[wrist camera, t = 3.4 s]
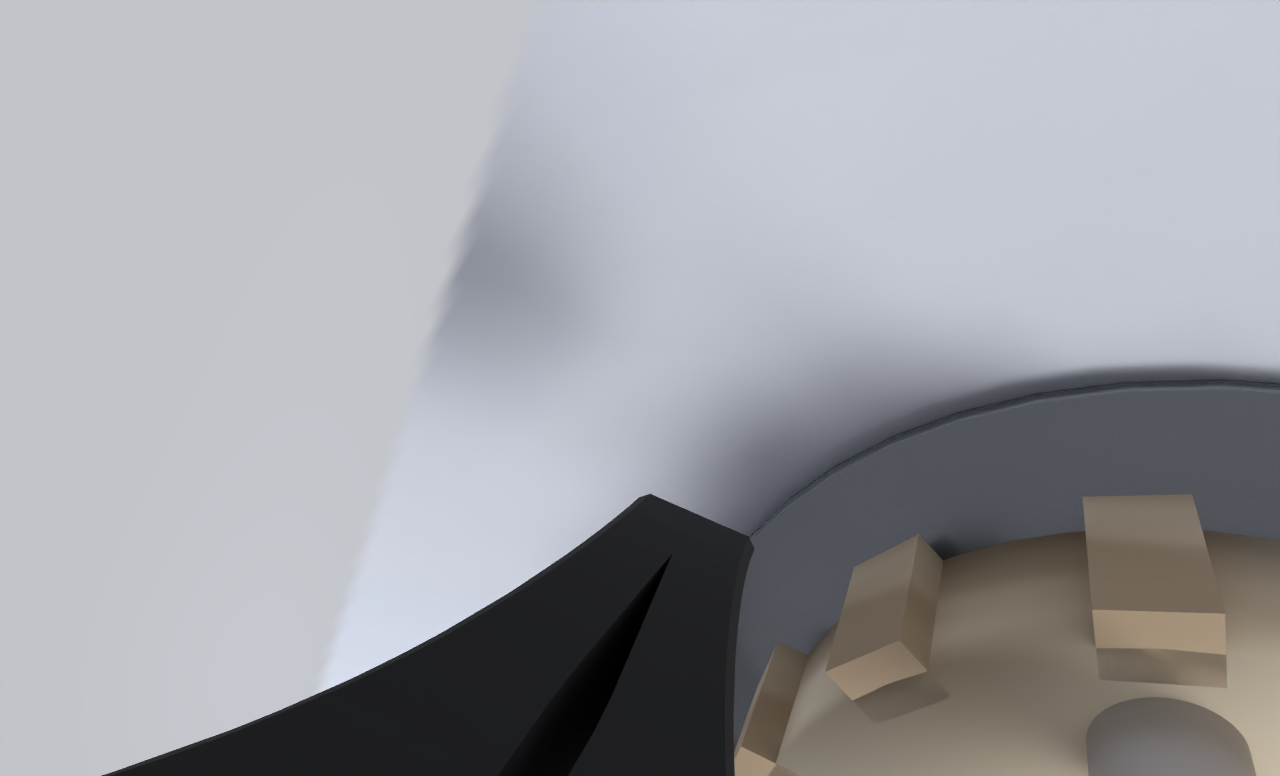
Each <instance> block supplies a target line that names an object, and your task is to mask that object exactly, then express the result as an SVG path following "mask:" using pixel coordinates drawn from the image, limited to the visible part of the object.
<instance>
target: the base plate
mask: <svg viewBox="0 0 1280 776" xmlns="http://www.w3.org/2000/svg"><path fill="white" fill-rule="evenodd" d="M1179 494H1192V495H1193V499H1194V502H1195V506H1196V510H1197V513H1198V517H1199V521H1200V524H1201V528H1202V531H1214V532H1222V533H1230V534H1237V535H1245V536H1253V537H1260V538H1268V539H1276V540H1280V384H1270V383H1256V382H1242V381H1228V380H1204V381H1165V382H1127V383H1118V384H1110V385H1102V386H1094V387H1086V388H1079V389H1071V390H1063V391H1055V392H1047V393H1040V394H1034V395H1030V396H1026V397H1022V398H1017V399H1013V400H1009V401H1005V402H1001V403H997V404H992V405H988V406H984V407H980V408H976V409H971V410H967V411H963V412H959V413H956V414H953V415H951V416H948V417H945V418H943V419H940V420H937V421H934V422H932V423H929V424H926V425H923V426H921V427H918V428H915V429H912V430H910V431H907V432H904V433H902V434H899V435H896V436H893V437H891V438H889V439H887V440H885V441H883V442H881V443H879V444H877V445H875V446H873V447H872V448H870V449H868V450H866V451H864V452H862V453H860V454H858V455H856V456H854V457H852V458H850V459H848V460H846V461H845V462H843V463H841V464H839V465H837V466H835V467H833V468H832V469H831V470H829V471H828V472H826V473H825V474H824V475H822V476H821V477H819V478H818V479H817V480H815V481H814V482H812V483H811V484H810V485H808V486H807V487H805V488H804V489H803V490H801V491H800V492H798V493H797V494H796V495H794V496H793V497H791V498H790V499H789V500H788V501H787V502H786V503H785V504H784V505H782V506H781V507H780V508H779V509H778V510H777V511H776V512H775V513H774V514H773V515H772V516H771V517H770V518H769V519H768V520H767V521H766V522H765V523H764V524H763V525H762V526H761V527H760V528H759V529H758V530H757V531H756V532H755V533H754V534H753V535H752V536H751V538H750V540H751V542H752V544H753V546H754V548H755V549H754V552H753V555H752V557H751V560H750V563H749V566H748V570H747V574H746V578H745V583H744V588H743V594H742V600H741V606H740V615H739V623H738V632H737V644H736V659H735V687H734V751H735V748H736V745H737V743H738V740H739V737H740V734H741V731H742V729H743V726H744V723H745V720H746V717H747V715H748V712H749V709H750V706H751V703H752V701H753V698H754V695H755V692H756V689H757V687H758V684H759V682H760V680H761V678H762V675H763V673H764V671H765V669H766V667H767V664H768V662H769V660H770V658H771V655H772V653H773V651H774V649H775V647H776V644H777V642H780V643H782V644H784V645H786V646H788V647H790V648H793V649H795V650H797V651H799V652H801V653H803V654H806V655H809V654H810V652H811V651H812V649H813V648H814V647H815V646H816V644H817V643H818V642H819V641H820V640H821V639H822V638H823V637H824V636H825V635H826V633H827V632H828V631H829V630H830V629H831V628H832V627H833V626H834V625H835V624H836V622H838V621H839V620H840V616H841V613H842V609H843V605H844V602H845V598H846V594H847V591H848V587H849V584H850V580H851V576H852V573H853V569H854V567H855V566H857V565H859V564H861V563H863V562H865V561H867V560H869V559H871V558H873V557H875V556H877V555H879V554H881V553H883V552H885V551H887V550H889V549H891V548H893V547H894V546H896V545H898V544H900V543H902V542H904V541H906V540H908V539H910V538H912V537H914V536H916V535H918V534H919V535H920V536H921V537H922V538H923V539H924V540H925V541H926V542H927V544H928V545H929V546H930V547H931V548H932V549H933V550H934V551H935V552H936V553H937V554H938V556H939V557H940V558H941V559H942V560H943V561H944V560H946V559H949V558H951V557H954V556H957V555H961V554H965V553H968V552H972V551H976V550H979V549H983V548H987V547H991V546H994V545H998V544H1002V543H1005V542H1009V541H1016V540H1022V539H1029V538H1035V537H1042V536H1048V535H1054V534H1061V533H1067V532H1080V531H1085V521H1084V509H1083V498H1082V497H1094V496H1137V495H1179Z"/></svg>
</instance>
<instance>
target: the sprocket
mask: <svg viewBox="0 0 1280 776" xmlns="http://www.w3.org/2000/svg"><path fill="white" fill-rule="evenodd" d="M1082 498H1083V509H1084V521H1085V531H1080V532H1067V533H1061V534H1054V535H1048V536H1042V537H1035V538H1029V539H1022V540H1016V541H1009V542H1005V543H1002V544H998V545H994V546H991V547H987V548H983V549H979V550H976V551H972V552H968V553H965V554H961V555H957V556H954V557H951V558H949V559H946V560H944V561H943V560H942V559H941V558H940V557H939V556H938V554H937V553H936V552H935V551H934V550H933V549H932V548H931V547H930V546H929V545H928V544H927V542H926V541H925V540H924V539H923V538H922V537H921V536H920V535H919V534H918V535H916V536H914V537H912V538H910V539H908V540H906V541H904V542H902V543H900V544H898V545H896V546H894V547H893V548H891V549H889V550H887V551H885V552H883V553H881V554H879V555H877V556H875V557H873V558H871V559H869V560H867V561H865V562H863V563H861V564H859V565H857V566H855V567H854V569H853V573H852V576H851V580H850V584H849V587H848V591H847V594H846V598H845V602H844V605H843V609H842V613H841V616H840V620H839V621H838V622H836V624H835V625H834V626H833V627H832V628H831V629H830V630H829V631H828V632H827V633H826V635H825V636H824V637H823V638H822V639H821V640H820V641H819V642H818V643H817V644H816V646H815V647H814V648H813V649H812V651H811V652H810V654H809V655H806V654H803V653H801V652H799V651H797V650H795V649H793V648H790V647H788V646H786V645H784V644H782V643H780V642H777V644H776V647H775V649H774V651H773V653H772V655H771V658H770V660H769V662H768V664H767V667H766V669H765V671H764V673H763V675H762V678H761V680H760V682H759V684H758V687H757V689H756V692H755V695H754V698H753V701H752V703H751V706H750V709H749V712H748V715H747V717H746V720H745V723H744V726H743V729H742V731H741V734H740V737H739V740H738V743H737V745H736V748H735V751H734V766H735V776H1280V540H1276V539H1268V538H1260V537H1253V536H1245V535H1237V534H1230V533H1222V532H1214V531H1202V528H1201V524H1200V521H1199V517H1198V513H1197V510H1196V506H1195V502H1194V499H1193V495H1192V494H1179V495H1137V496H1094V497H1082Z"/></svg>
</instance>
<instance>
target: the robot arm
mask: <svg viewBox="0 0 1280 776" xmlns="http://www.w3.org/2000/svg"><path fill="white" fill-rule="evenodd" d="M754 549H755V548H754V546H753V544H752V542H751V540H750V538H749V537H748V536H745V535H743V534H741V533H739V532H736V531H734V530H732V529H729V528H727V527H725V526H722V525H720V524H718V523H716V522H713V521H711V520H709V519H706V518H704V517H702V516H700V515H697V514H695V513H693V512H690V511H688V510H686V509H684V508H681V507H679V506H677V505H674V504H672V503H670V502H667V501H665V500H663V499H661V498H658V497H656V496H654V495H651V494H649V495H645V496H642V497H639V498H638V499H637V500H636V501H635V502H633V503H632V504H631V505H630V506H629V507H628V508H627V509H625V510H624V511H623V512H622V513H621V514H619V515H618V516H617V517H616V518H614V519H613V520H612V521H611V522H609V523H608V524H607V525H606V526H604V527H603V528H602V529H600V530H599V531H598V532H596V533H595V534H594V535H593V536H591V537H590V538H588V539H587V540H586V541H584V542H583V543H582V544H580V545H579V546H578V547H576V548H575V549H573V550H572V551H571V552H569V553H568V554H567V555H565V556H564V557H562V558H561V559H559V560H558V561H556V562H555V563H553V564H552V565H550V566H549V567H547V568H546V569H544V570H543V571H541V572H540V573H538V574H537V575H535V576H534V577H532V578H531V579H529V580H528V581H526V582H525V583H523V584H522V585H521V586H519V587H517V588H516V589H514V590H513V591H511V592H510V593H508V594H506V595H505V596H503V597H502V598H500V599H498V600H496V601H495V602H493V603H491V604H490V605H488V606H486V607H485V608H483V609H481V610H480V611H478V612H476V613H474V614H473V615H471V616H469V617H468V618H466V619H464V620H463V621H461V622H459V623H458V624H456V625H454V626H452V627H451V628H449V629H447V630H446V631H444V632H442V633H440V634H438V635H437V636H435V637H433V638H431V639H429V640H427V641H425V642H424V643H422V644H420V645H418V646H416V647H414V648H412V649H410V650H409V651H407V652H405V653H403V654H401V655H399V656H397V657H395V658H393V659H391V660H389V661H387V662H385V663H383V664H381V665H379V666H377V667H375V668H373V669H371V670H368V671H366V672H364V673H362V674H360V675H358V676H356V677H354V678H352V679H350V680H348V681H346V682H343V683H341V684H339V685H336V686H334V687H332V688H330V689H327V690H325V691H323V692H321V693H318V694H316V695H314V696H311V697H309V698H307V699H305V700H302V701H300V702H298V703H296V704H293V705H291V706H289V707H286V708H284V709H282V710H279V711H277V712H275V713H272V714H270V715H267V716H265V717H262V718H260V719H257V720H255V721H253V722H250V723H248V724H245V725H242V726H240V727H237V728H235V729H232V730H230V731H227V732H224V733H221V734H219V735H216V736H213V737H210V738H208V739H205V740H202V741H199V742H196V743H193V744H190V745H188V746H185V747H182V748H180V749H176V750H174V751H171V752H168V753H165V754H163V755H160V756H157V757H154V758H151V759H149V760H146V761H143V762H140V763H138V764H134V765H132V766H129V767H126V768H123V769H121V770H118V771H115V772H112V773H109V774H106V775H102V776H735V766H734V687H735V659H736V644H737V632H738V623H739V615H740V606H741V600H742V594H743V588H744V583H745V578H746V574H747V570H748V566H749V563H750V560H751V557H752V555H753V552H754Z"/></svg>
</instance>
